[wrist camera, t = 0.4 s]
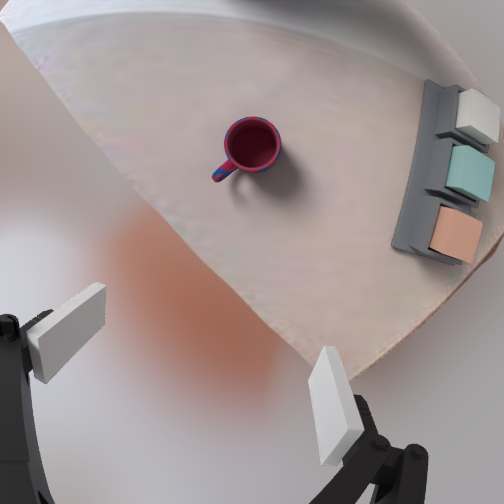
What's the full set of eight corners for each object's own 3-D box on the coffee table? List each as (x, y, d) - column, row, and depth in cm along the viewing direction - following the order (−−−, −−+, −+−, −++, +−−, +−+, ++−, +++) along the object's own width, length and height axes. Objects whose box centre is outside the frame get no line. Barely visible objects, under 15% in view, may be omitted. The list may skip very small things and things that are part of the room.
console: (424, 81, 35) (443, 71, 29) (481, 113, 35) (501, 109, 29) (390, 245, 42) (406, 255, 36) (450, 264, 42) (469, 274, 36)
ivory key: (454, 95, 31) (472, 88, 26) (480, 111, 31) (500, 107, 26) (450, 129, 33) (470, 125, 28) (477, 144, 33) (497, 143, 28)
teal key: (447, 147, 34) (467, 145, 29) (475, 162, 34) (495, 162, 29) (440, 185, 35) (460, 187, 30) (468, 198, 35) (488, 202, 30)
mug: (288, 155, 40) (292, 151, 33) (229, 194, 41) (222, 198, 35) (261, 117, 39) (259, 106, 32) (203, 157, 40) (191, 153, 34)
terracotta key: (435, 205, 36) (455, 209, 31) (463, 217, 36) (483, 222, 31) (424, 244, 37) (442, 253, 32) (452, 254, 37) (471, 263, 32)
